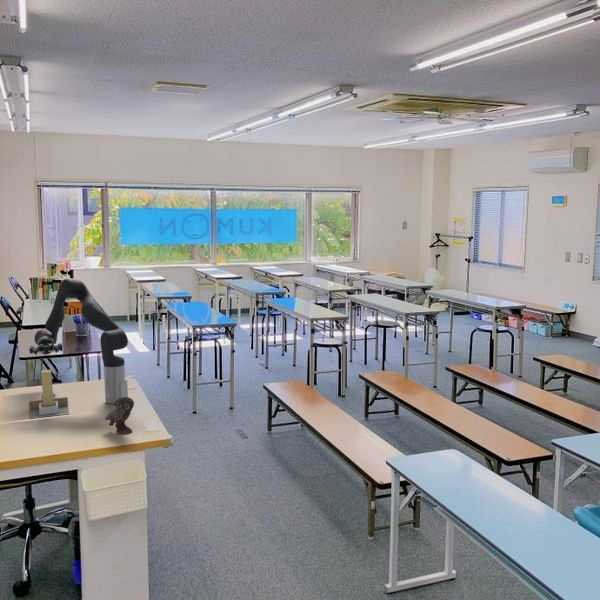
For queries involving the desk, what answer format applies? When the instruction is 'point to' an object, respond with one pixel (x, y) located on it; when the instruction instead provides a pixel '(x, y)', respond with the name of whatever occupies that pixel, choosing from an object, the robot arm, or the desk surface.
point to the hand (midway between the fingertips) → (46, 351)
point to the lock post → (47, 388)
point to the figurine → (121, 415)
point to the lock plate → (39, 410)
